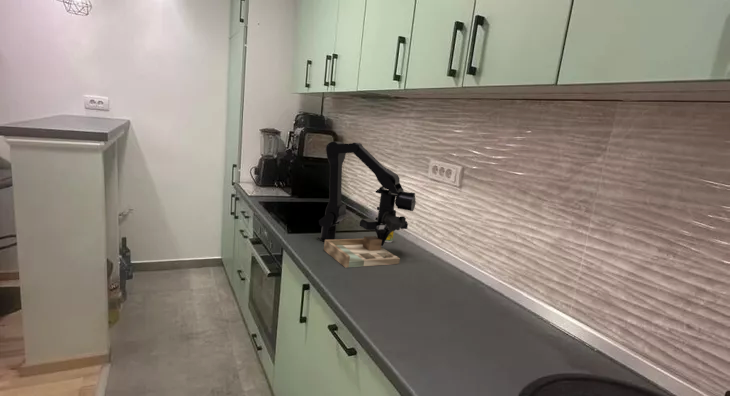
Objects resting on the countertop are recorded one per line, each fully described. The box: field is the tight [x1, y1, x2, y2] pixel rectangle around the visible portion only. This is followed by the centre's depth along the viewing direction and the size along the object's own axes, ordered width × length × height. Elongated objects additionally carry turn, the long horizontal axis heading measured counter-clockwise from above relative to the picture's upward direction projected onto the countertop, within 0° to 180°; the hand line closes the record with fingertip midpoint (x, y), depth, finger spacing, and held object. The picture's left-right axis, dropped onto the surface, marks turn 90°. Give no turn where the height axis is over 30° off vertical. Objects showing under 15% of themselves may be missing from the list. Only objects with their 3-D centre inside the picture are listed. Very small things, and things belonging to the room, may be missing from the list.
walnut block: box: [363, 235, 382, 251], centre depth 153 cm, size 5×5×4 cm
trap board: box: [323, 238, 401, 269], centre depth 148 cm, size 18×22×4 cm
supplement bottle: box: [384, 231, 395, 243], centre depth 173 cm, size 5×5×10 cm
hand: (381, 245), depth 156 cm, fingers closed
